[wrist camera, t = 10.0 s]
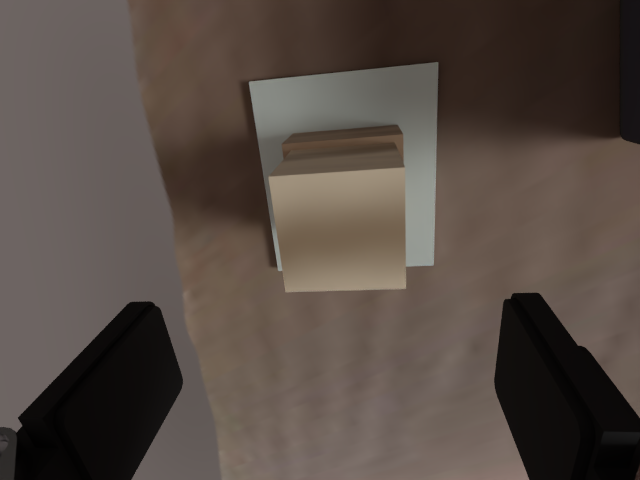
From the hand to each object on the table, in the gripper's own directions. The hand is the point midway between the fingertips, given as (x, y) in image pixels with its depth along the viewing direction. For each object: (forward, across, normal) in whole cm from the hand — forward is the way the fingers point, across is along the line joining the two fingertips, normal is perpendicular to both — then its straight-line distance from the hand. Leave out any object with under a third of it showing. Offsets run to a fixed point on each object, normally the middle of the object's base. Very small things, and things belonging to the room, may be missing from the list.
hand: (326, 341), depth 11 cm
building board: (+19, 0, +1) cm, 19 cm away
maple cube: (+14, 0, +1) cm, 14 cm away
